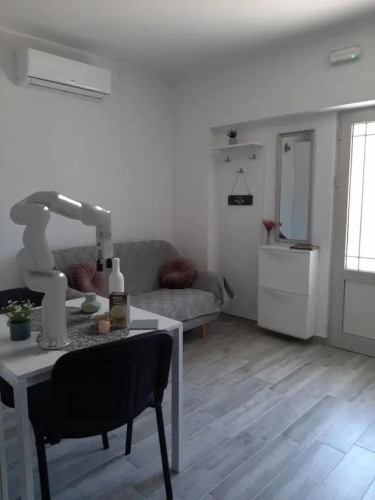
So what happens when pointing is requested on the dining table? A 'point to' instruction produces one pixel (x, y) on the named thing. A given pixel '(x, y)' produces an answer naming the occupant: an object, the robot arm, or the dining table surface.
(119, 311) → the coffee box
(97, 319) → the walnut block
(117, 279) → the bottle
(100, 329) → the terracotta cylinder
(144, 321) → the slate mat
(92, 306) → the air freshener
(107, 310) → the sage block
